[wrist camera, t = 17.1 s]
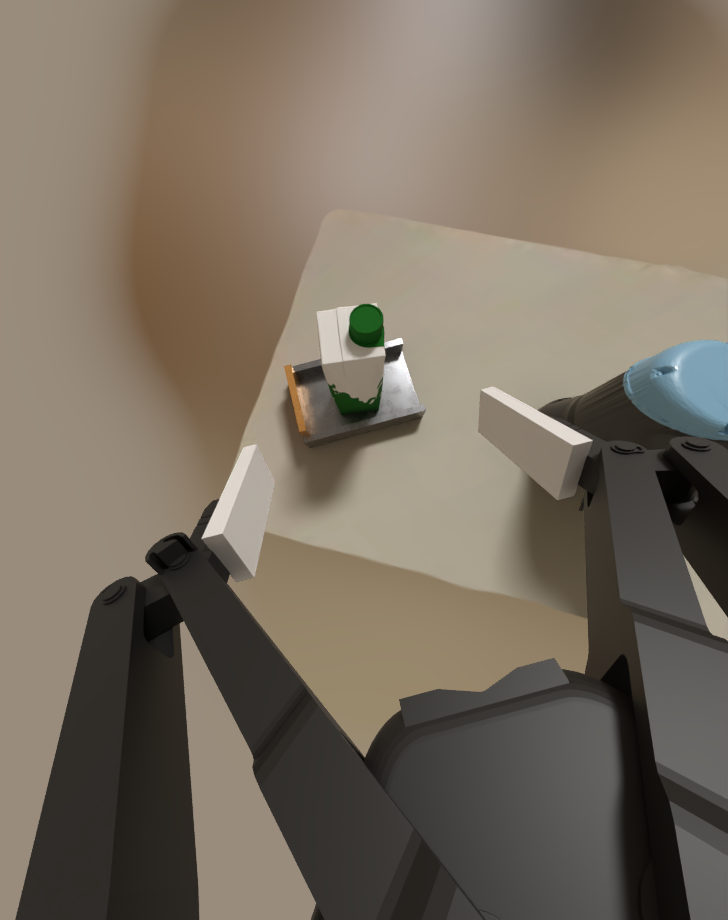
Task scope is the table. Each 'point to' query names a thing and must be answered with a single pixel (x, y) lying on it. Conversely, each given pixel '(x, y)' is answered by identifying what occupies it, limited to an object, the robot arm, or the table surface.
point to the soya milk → (353, 356)
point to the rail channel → (327, 424)
